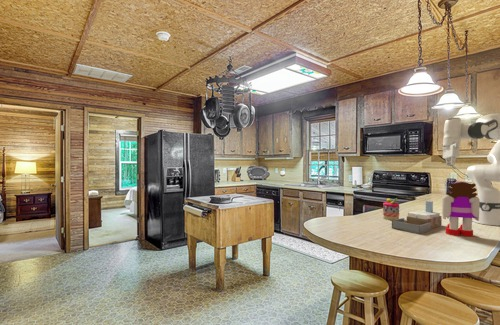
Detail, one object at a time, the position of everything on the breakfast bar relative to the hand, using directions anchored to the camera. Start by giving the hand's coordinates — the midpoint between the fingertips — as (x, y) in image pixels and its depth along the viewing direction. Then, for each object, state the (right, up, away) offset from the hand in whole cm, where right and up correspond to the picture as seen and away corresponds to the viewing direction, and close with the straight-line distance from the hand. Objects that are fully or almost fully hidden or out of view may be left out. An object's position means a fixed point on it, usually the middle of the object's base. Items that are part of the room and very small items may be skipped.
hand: (450, 165), depth 173 cm
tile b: (-22, -33, +1) cm, 39 cm away
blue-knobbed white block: (-12, -33, +5) cm, 35 cm away
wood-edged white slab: (-14, -39, +3) cm, 41 cm away
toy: (-8, -39, -18) cm, 44 cm away
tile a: (-19, -33, -3) cm, 38 cm away
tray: (-28, -39, -6) cm, 48 cm away
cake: (-25, -39, +24) cm, 52 cm away
